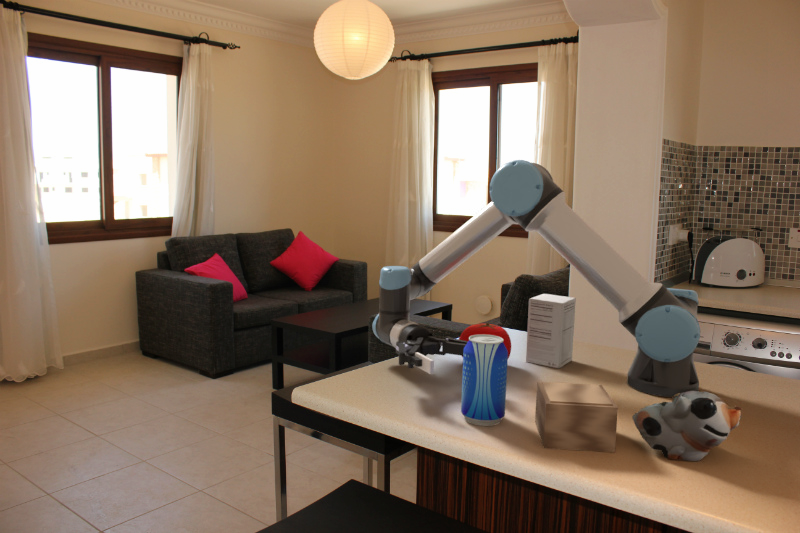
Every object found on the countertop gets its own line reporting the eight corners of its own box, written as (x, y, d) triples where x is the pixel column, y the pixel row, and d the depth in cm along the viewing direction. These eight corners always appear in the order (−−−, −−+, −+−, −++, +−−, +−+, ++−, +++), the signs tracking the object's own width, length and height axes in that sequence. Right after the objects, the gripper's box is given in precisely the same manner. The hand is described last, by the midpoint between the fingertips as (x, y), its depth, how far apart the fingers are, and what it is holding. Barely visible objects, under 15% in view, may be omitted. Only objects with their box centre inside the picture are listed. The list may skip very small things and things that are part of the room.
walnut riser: (598, 425, 118) (601, 383, 117) (614, 452, 106) (618, 406, 105) (534, 421, 119) (537, 380, 118) (543, 448, 107) (546, 402, 106)
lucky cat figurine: (687, 430, 117) (731, 376, 110) (718, 481, 107) (770, 425, 100) (619, 412, 113) (661, 355, 107) (645, 463, 103) (694, 404, 97)
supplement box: (539, 354, 167) (543, 292, 165) (572, 360, 162) (576, 297, 160) (524, 362, 160) (528, 297, 158) (559, 369, 154) (563, 302, 152)
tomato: (499, 376, 147) (501, 331, 146) (450, 367, 154) (451, 323, 152) (517, 364, 157) (520, 322, 156) (470, 356, 164) (472, 315, 162)
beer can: (503, 429, 115) (507, 345, 113) (458, 424, 117) (461, 342, 115) (505, 413, 123) (509, 335, 121) (463, 409, 125) (466, 331, 123)
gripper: (457, 349, 151) (510, 374, 132) (362, 360, 139) (406, 389, 121) (458, 319, 150) (511, 339, 131) (363, 327, 138) (407, 351, 120)
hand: (461, 363), depth 126 cm, fingers open, 13 cm apart
